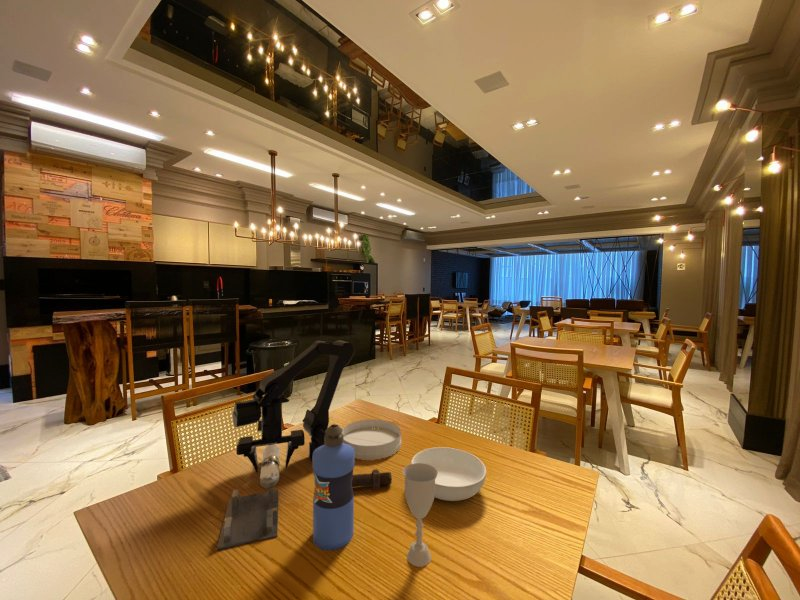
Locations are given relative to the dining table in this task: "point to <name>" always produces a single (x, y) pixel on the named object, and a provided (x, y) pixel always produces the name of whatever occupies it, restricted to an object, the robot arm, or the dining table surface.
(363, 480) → the bolt
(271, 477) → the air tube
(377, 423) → the dish
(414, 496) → the chalice
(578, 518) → the dining table surface
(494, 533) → the dining table surface
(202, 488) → the dining table surface
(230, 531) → the collar cradle
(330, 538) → the water bottle
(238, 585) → the dining table surface
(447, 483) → the serving bowl
